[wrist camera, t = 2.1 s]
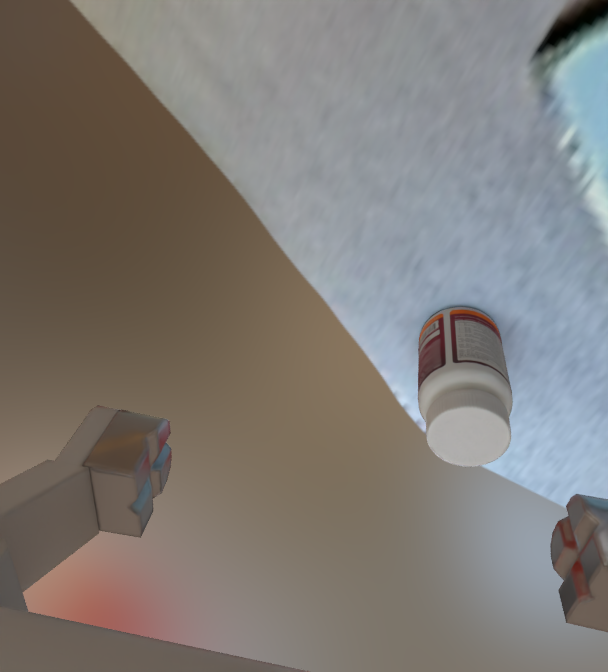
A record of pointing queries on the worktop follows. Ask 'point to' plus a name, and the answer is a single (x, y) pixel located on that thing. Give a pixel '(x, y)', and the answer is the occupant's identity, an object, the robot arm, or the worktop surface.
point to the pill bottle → (464, 387)
